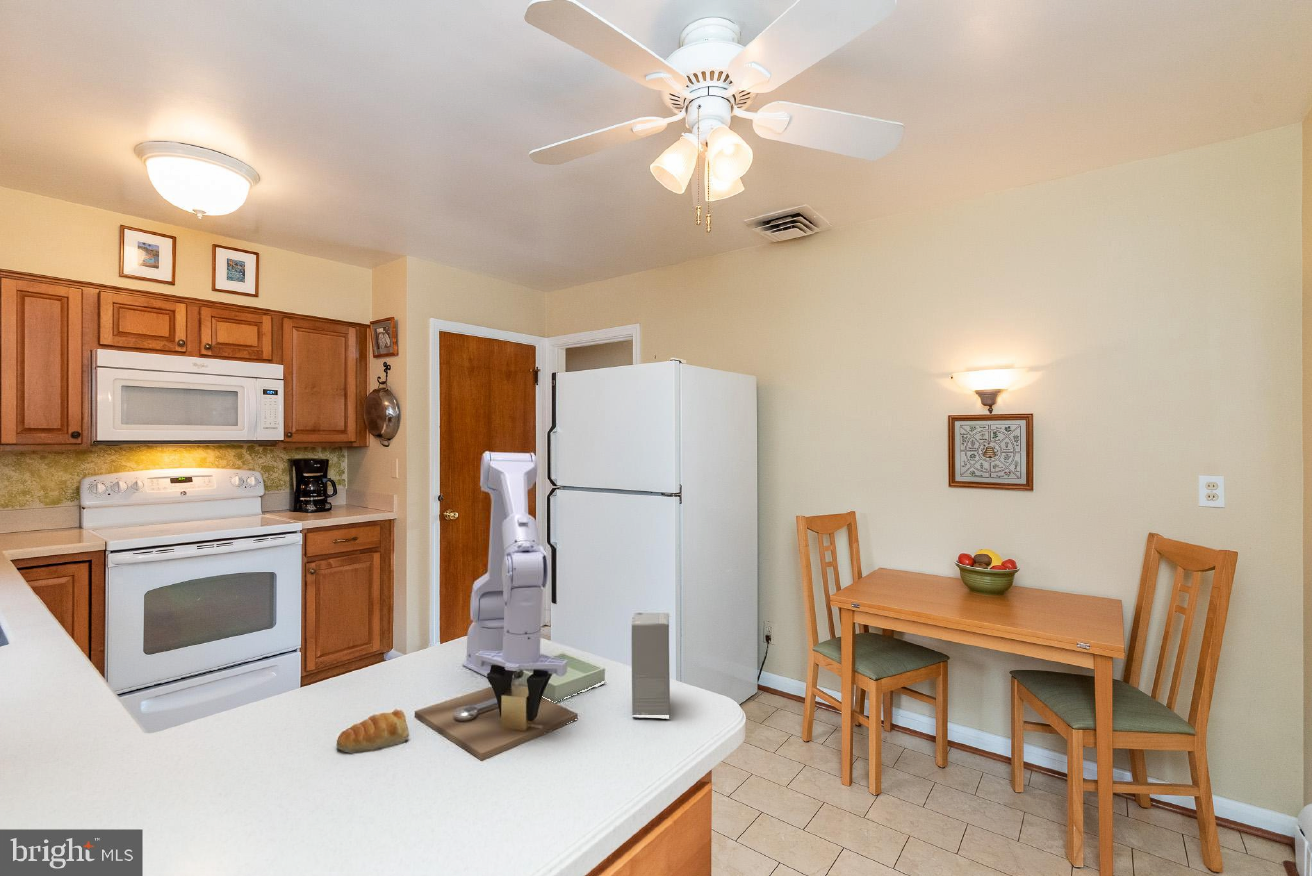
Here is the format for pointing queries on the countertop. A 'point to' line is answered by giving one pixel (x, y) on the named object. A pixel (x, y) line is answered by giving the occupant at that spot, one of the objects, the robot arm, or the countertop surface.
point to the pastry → (375, 732)
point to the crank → (472, 711)
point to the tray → (570, 678)
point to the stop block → (515, 709)
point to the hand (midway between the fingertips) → (518, 716)
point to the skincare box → (650, 664)
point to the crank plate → (489, 724)
